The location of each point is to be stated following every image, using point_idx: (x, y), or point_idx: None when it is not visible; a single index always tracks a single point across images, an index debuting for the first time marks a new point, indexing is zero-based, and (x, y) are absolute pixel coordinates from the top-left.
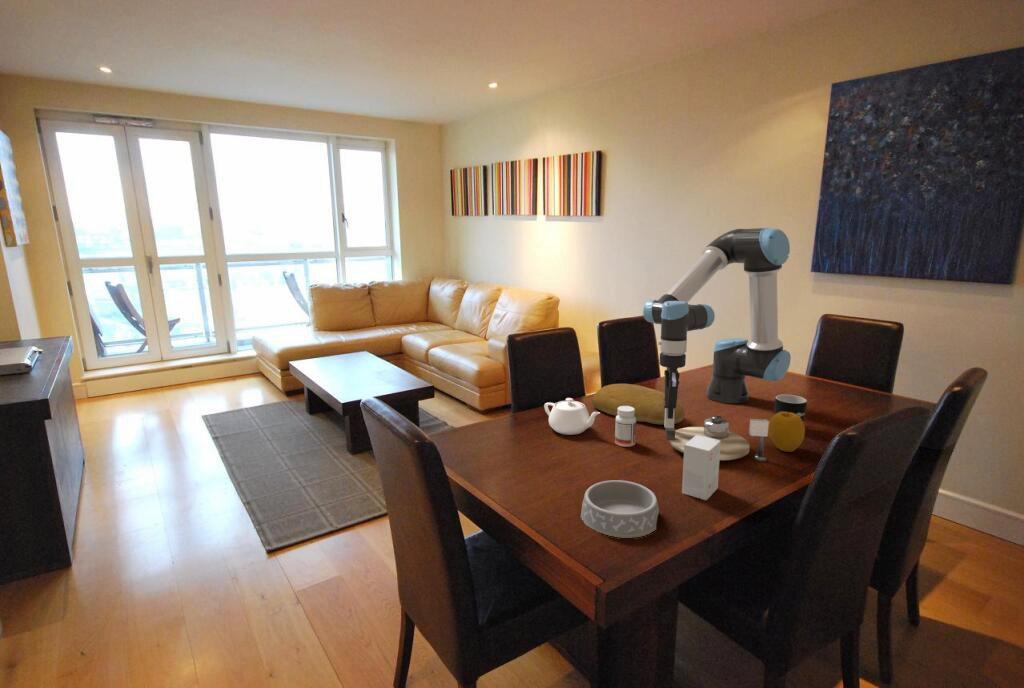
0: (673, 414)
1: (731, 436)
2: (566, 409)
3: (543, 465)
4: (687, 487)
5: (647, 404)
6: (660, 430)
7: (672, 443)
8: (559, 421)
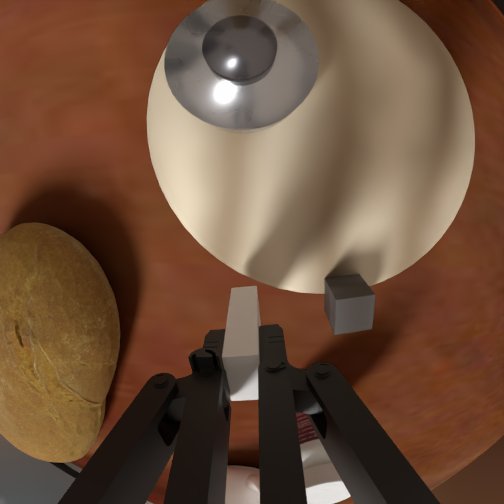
0: (257, 332)
1: None
2: None
3: (414, 463)
4: None
5: (74, 389)
6: (151, 303)
7: (376, 280)
8: None
